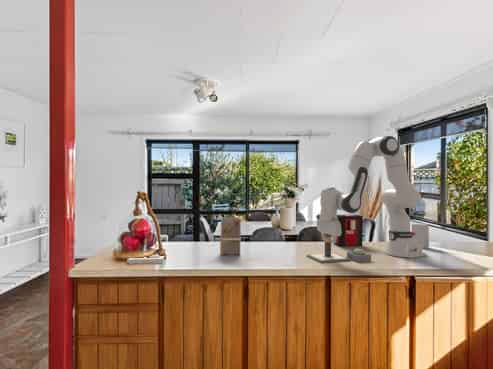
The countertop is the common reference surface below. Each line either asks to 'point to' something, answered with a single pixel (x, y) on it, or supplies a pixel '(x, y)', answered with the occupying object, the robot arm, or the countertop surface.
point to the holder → (147, 259)
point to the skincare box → (421, 234)
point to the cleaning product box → (350, 231)
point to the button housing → (359, 257)
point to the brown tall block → (230, 235)
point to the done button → (358, 251)
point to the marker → (327, 247)
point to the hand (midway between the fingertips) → (328, 241)
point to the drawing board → (328, 258)
